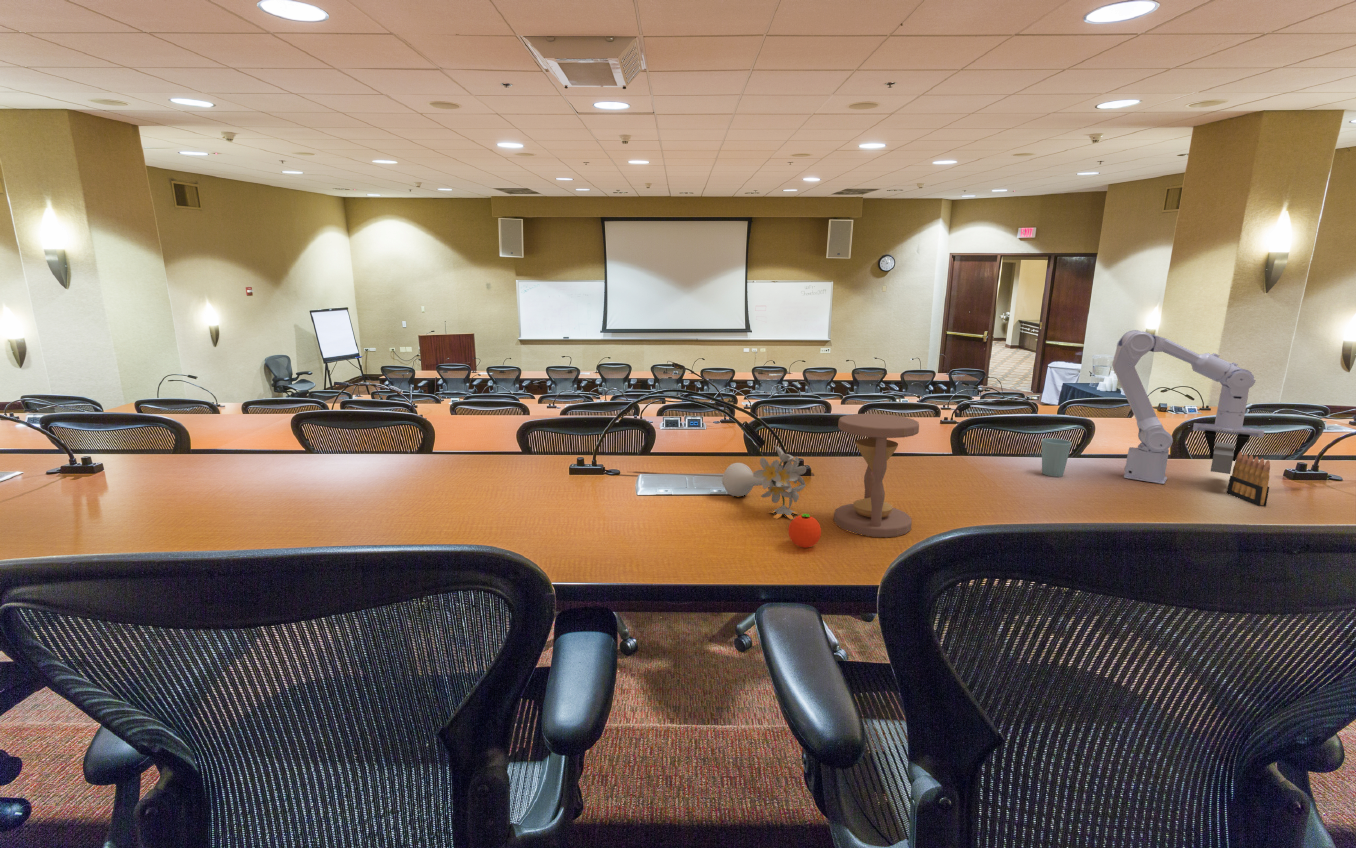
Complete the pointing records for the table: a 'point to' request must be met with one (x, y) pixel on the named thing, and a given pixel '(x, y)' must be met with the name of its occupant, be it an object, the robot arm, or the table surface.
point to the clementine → (804, 531)
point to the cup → (1054, 456)
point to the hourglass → (875, 475)
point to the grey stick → (1222, 458)
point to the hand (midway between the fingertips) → (1222, 458)
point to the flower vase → (767, 479)
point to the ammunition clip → (1250, 480)
